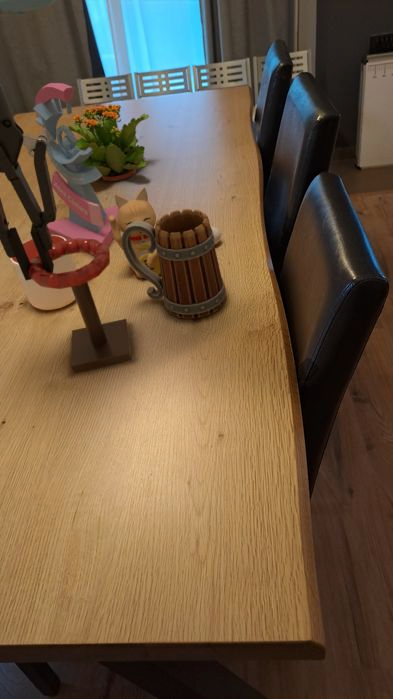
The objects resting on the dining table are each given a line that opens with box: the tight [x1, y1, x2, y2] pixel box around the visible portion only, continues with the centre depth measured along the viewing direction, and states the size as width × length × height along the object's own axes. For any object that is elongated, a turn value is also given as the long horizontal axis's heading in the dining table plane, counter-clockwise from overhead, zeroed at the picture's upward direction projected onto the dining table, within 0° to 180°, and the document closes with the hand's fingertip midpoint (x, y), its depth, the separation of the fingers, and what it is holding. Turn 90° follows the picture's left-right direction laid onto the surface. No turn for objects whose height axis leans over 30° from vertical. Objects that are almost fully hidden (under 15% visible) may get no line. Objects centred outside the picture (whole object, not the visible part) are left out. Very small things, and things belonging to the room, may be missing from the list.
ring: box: [29, 238, 111, 289], centre depth 68 cm, size 11×11×2 cm
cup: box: [9, 235, 78, 311], centre depth 89 cm, size 10×10×10 cm
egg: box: [210, 225, 223, 246], centre depth 97 cm, size 4×6×4 cm, turn 98°
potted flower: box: [66, 103, 150, 182], centre depth 128 cm, size 25×24×18 cm
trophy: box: [32, 82, 121, 256], centre depth 101 cm, size 20×17×30 cm
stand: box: [69, 281, 132, 374], centre depth 74 cm, size 9×9×14 cm
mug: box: [121, 208, 226, 320], centre depth 80 cm, size 16×11×15 cm
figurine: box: [109, 187, 161, 279], centre depth 90 cm, size 9×10×15 cm
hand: (40, 272), depth 68 cm, fingers closed on ring, 2 cm apart
